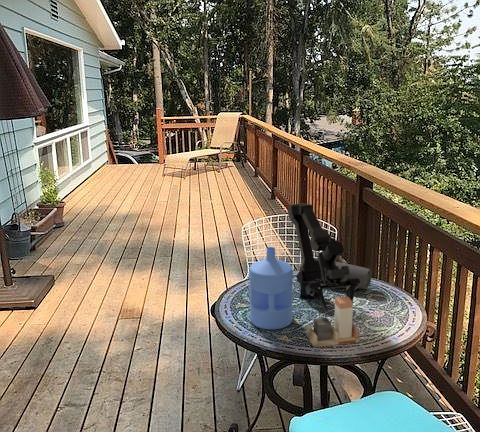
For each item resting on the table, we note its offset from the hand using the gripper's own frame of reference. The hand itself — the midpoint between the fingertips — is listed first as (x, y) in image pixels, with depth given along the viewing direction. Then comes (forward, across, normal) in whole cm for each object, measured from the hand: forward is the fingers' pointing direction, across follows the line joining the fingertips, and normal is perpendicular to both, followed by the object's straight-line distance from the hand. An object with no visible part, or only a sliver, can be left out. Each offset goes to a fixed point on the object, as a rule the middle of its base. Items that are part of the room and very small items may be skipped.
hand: (338, 308), depth 169 cm
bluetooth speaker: (-19, +16, +32) cm, 40 cm away
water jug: (-3, -21, +16) cm, 26 cm away
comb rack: (+9, -4, +3) cm, 10 cm away
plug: (+8, 0, +3) cm, 9 cm away
